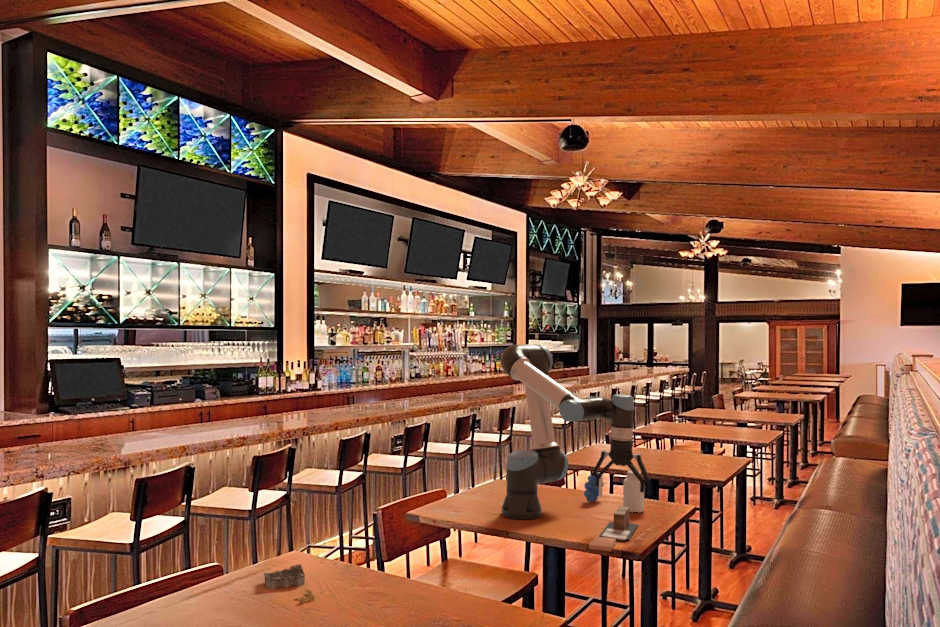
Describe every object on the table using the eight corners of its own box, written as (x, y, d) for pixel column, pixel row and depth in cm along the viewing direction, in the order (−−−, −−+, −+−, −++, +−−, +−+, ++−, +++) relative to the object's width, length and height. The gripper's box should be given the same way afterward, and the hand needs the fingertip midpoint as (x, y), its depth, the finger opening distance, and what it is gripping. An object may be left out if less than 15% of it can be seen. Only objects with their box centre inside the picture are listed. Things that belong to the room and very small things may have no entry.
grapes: (593, 497, 311) (594, 468, 311) (607, 500, 306) (607, 471, 306) (576, 502, 303) (576, 472, 303) (589, 505, 298) (590, 475, 298)
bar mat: (599, 537, 253) (599, 535, 253) (610, 523, 272) (610, 521, 272) (629, 541, 249) (629, 539, 249) (638, 526, 268) (638, 524, 268)
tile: (595, 541, 249) (589, 550, 240) (595, 536, 249) (589, 544, 240) (616, 544, 247) (610, 552, 238) (616, 538, 247) (611, 547, 238)
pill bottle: (642, 508, 294) (643, 470, 294) (645, 513, 286) (645, 474, 286) (622, 507, 295) (622, 469, 295) (624, 512, 287) (624, 473, 287)
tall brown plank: (613, 521, 271) (613, 505, 271) (635, 524, 268) (635, 507, 268) (601, 537, 251) (601, 519, 251) (625, 540, 248) (625, 522, 248)
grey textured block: (302, 578, 210) (303, 563, 210) (305, 587, 203) (306, 572, 203) (263, 581, 207) (263, 566, 207) (265, 591, 200) (265, 575, 200)
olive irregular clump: (310, 596, 197) (310, 589, 197) (319, 602, 193) (319, 594, 193) (292, 600, 194) (292, 593, 194) (301, 606, 190) (301, 599, 190)
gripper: (584, 437, 264) (582, 497, 264) (656, 444, 255) (654, 506, 255) (588, 434, 271) (586, 492, 271) (659, 440, 262) (657, 500, 262)
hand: (619, 499), depth 263 cm, fingers open, 13 cm apart
